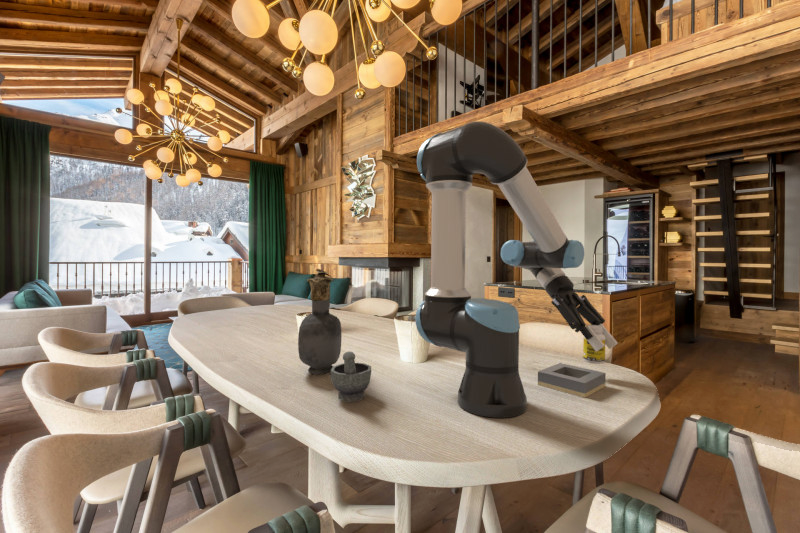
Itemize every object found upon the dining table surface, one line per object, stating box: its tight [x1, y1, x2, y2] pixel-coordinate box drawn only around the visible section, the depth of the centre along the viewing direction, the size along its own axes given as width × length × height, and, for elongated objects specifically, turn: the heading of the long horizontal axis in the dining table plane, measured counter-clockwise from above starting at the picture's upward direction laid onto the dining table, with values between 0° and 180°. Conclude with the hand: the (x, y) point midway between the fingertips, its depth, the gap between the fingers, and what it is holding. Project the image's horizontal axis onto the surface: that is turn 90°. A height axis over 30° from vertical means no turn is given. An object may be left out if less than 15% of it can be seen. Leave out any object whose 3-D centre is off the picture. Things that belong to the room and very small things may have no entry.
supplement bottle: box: [582, 324, 606, 365], centre depth 104 cm, size 5×5×10 cm
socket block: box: [537, 362, 607, 399], centre depth 97 cm, size 12×12×4 cm
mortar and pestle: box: [330, 351, 372, 403], centre depth 89 cm, size 11×9×12 cm
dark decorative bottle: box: [297, 268, 342, 376], centre depth 112 cm, size 11×19×30 cm, turn 0°
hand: (606, 347), depth 100 cm, fingers closed on supplement bottle, 5 cm apart
